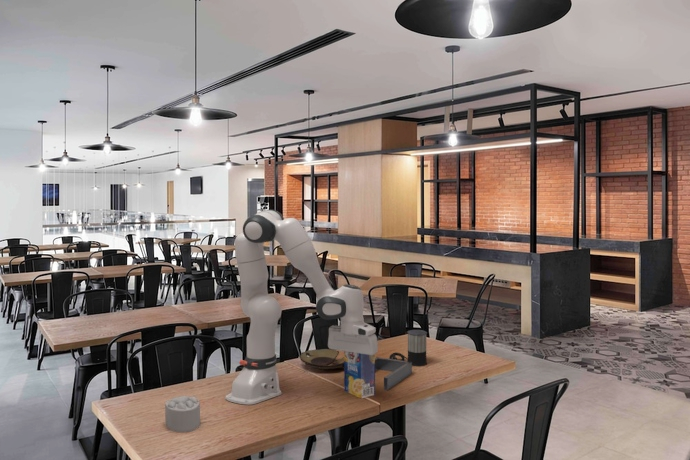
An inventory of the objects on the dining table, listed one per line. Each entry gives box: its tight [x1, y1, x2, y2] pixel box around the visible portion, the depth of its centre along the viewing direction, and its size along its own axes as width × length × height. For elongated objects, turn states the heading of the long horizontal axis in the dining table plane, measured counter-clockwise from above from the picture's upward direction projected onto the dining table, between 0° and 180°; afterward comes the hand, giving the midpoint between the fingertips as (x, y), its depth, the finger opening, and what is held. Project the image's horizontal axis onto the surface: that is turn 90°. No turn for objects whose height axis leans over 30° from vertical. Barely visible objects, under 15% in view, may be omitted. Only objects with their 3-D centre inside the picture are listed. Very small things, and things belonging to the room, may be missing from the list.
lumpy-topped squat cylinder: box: [164, 395, 201, 433], centre depth 182 cm, size 10×13×9 cm
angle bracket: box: [375, 356, 413, 391], centre depth 230 cm, size 25×17×5 cm
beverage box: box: [343, 351, 376, 399], centre depth 212 cm, size 7×11×22 cm, turn 35°
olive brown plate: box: [299, 348, 344, 370], centre depth 245 cm, size 22×30×8 cm
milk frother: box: [388, 329, 428, 367], centre depth 252 cm, size 14×16×15 cm
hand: (352, 363), depth 207 cm, fingers closed
